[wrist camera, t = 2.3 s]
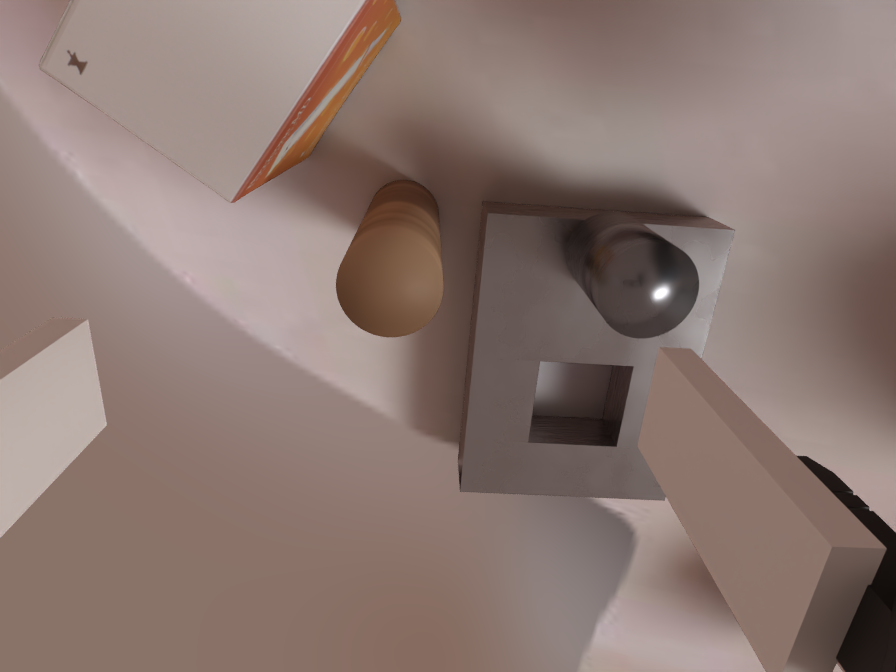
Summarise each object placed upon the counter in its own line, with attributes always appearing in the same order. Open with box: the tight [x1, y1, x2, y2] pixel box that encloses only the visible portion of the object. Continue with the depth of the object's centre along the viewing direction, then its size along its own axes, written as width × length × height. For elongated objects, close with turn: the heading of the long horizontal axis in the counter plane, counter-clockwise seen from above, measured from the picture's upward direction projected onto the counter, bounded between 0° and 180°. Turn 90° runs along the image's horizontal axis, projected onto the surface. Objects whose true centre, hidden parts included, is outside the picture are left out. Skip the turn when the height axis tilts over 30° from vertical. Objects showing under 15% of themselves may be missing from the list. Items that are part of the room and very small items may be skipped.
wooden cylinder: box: [336, 180, 443, 337], centre depth 26 cm, size 4×4×12 cm
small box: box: [39, 0, 401, 203], centre depth 22 cm, size 8×6×13 cm
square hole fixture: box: [458, 202, 735, 501], centre depth 30 cm, size 16×12×9 cm
